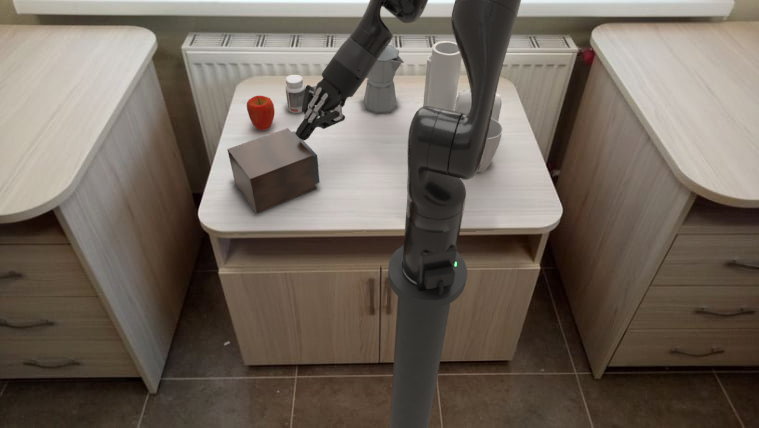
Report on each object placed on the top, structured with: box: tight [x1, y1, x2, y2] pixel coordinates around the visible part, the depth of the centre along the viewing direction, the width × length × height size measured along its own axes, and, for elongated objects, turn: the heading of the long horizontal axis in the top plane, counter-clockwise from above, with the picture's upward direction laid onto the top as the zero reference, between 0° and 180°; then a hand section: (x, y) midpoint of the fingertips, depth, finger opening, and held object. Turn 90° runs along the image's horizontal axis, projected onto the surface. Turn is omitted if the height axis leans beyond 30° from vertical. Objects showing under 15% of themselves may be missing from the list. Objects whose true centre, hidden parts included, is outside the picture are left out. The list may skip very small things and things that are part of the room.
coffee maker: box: [363, 44, 405, 115], centre depth 132 cm, size 15×9×18 cm, turn 56°
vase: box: [422, 40, 463, 111], centre depth 127 cm, size 11×7×20 cm, turn 1°
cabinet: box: [226, 127, 317, 214], centre depth 112 cm, size 14×11×9 cm
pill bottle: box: [285, 74, 306, 114], centre depth 133 cm, size 5×5×8 cm
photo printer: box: [455, 89, 502, 122], centre depth 124 cm, size 10×4×12 cm, turn 85°
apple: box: [246, 95, 276, 131], centre depth 128 cm, size 6×6×8 cm
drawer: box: [291, 131, 320, 185], centre depth 113 cm, size 14×10×7 cm
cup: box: [476, 118, 504, 173], centre depth 118 cm, size 8×8×10 cm
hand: (299, 137), depth 111 cm, fingers closed
